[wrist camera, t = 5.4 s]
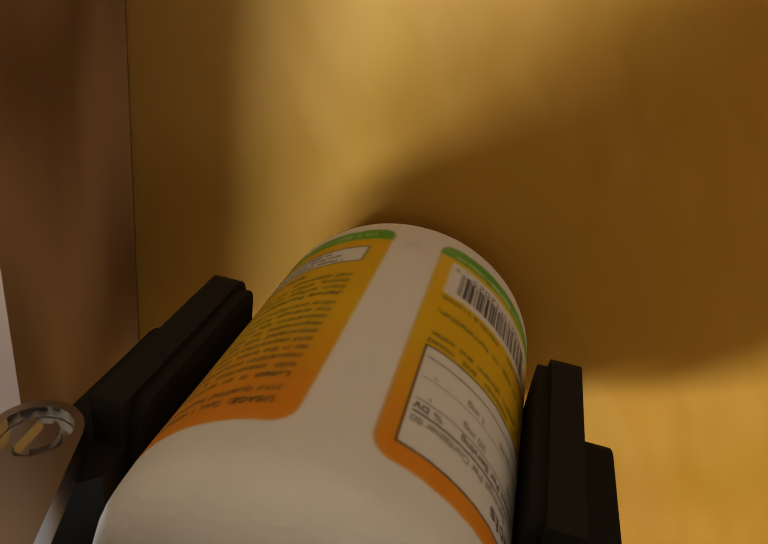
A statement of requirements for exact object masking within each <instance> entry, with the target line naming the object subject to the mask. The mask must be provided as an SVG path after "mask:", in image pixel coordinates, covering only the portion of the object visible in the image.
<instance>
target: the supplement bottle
mask: <svg viewBox="0 0 768 544" xmlns="http://www.w3.org/2000/svg"><path fill="white" fill-rule="evenodd" d="M526 371H527V341H526V332H525V327H524V323H523V319H522V316H521V313H520V310H519V307H518V305H517V302H516V300H515V298H514V296H513V294H512V292H511V291H510V289H509V288H508V286H507V284H506V283H505V282H504V280H503V279H502V278H501V276H500V275H499V274H498V273H497V272H496V270H495V269H494V268H493V267H492V266H491V265H490V264H489V263H488V262H487V261H486V260H484V259H483V258H482V257H481V256H480V255H479V254H477V253H476V252H475V251H473V250H472V249H471V248H469V247H468V246H466V245H464V244H463V243H461V242H459V241H458V240H456V239H453V238H451V237H449V236H447V235H445V234H442V233H440V232H437V231H434V230H430V229H427V228H423V227H419V226H414V225H407V224H394V223H383V224H372V225H366V226H361V227H357V228H353V229H349V230H346V231H344V232H341V233H339V234H336V235H334V236H332V237H330V238H328V239H327V240H325V241H323V242H321V243H320V244H319V245H317V246H316V247H315V248H313V249H312V250H311V251H310V252H309V253H308V254H307V255H305V256H304V257H303V259H302V260H301V261H300V262H299V263H298V264H297V265H296V266H295V267H294V268H293V269H292V270H291V271H290V273H289V274H288V275H287V277H286V278H285V279H284V281H283V282H282V283H281V284H280V285H279V286H278V288H277V289H276V290H275V292H274V293H273V294H272V295H271V297H270V298H269V299H268V300H267V302H266V303H265V304H264V305H263V307H262V308H261V309H260V310H259V311H258V313H257V314H256V315H255V316H254V318H253V319H252V320H251V321H250V323H249V324H248V325H247V326H246V328H245V329H244V330H243V331H242V332H241V334H240V335H239V336H238V337H237V338H236V340H235V341H234V342H233V343H232V344H231V346H230V347H229V348H228V349H227V351H226V352H225V353H224V354H223V356H222V357H221V358H220V359H219V360H218V362H217V363H216V364H215V365H214V367H213V368H212V369H211V370H210V372H209V373H208V374H207V375H206V376H205V378H204V379H203V380H202V381H201V383H200V384H199V385H198V386H197V387H196V389H195V390H194V391H193V392H192V394H191V395H190V396H189V397H188V398H187V400H186V401H185V402H184V403H183V404H182V406H181V407H180V408H179V409H178V410H177V412H176V413H175V414H174V415H173V417H172V418H171V419H170V420H169V421H168V423H167V424H166V425H165V426H164V427H163V428H162V430H161V431H160V432H159V433H158V434H157V436H156V437H155V438H154V439H153V441H152V442H151V443H150V444H149V446H148V447H147V448H146V449H145V451H144V452H143V453H142V454H141V456H140V457H139V458H138V459H137V461H136V462H135V463H134V465H133V466H132V468H131V469H130V470H129V472H128V473H127V474H126V476H125V477H124V478H123V480H122V481H121V482H120V484H119V485H118V487H117V488H116V490H115V491H114V493H113V494H112V496H111V497H110V499H109V501H108V502H107V504H106V506H105V508H104V511H103V513H102V515H101V517H100V519H99V522H98V526H97V529H96V533H95V536H94V540H93V544H512V534H513V522H514V511H515V499H516V488H517V476H518V464H519V452H520V442H521V430H522V418H523V405H524V393H525V382H526Z"/></svg>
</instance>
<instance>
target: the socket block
mask: <svg viewBox="0 0 768 544" xmlns="http://www.w3.org/2000/svg"><path fill="white" fill-rule="evenodd" d="M138 342H139V334H138V309H137V285H136V261H135V237H134V212H133V188H132V164H131V139H130V115H129V91H128V67H127V42H126V18H125V0H0V414H1V413H3V412H4V411H6V410H8V409H10V408H13V407H15V406H17V405H20V404H23V403H28V402H32V401H37V400H55V401H62V402H66V403H68V404H70V405H73V404H74V403H75V402H76V401H77V400H78V399H79V398H80V397H81V396H82V395H83V394H85V393H86V392H87V391H88V390H89V389H90V388H91V387H92V386H93V385H94V384H95V383H96V382H97V381H98V380H99V379H100V378H101V377H102V376H104V375H105V374H106V373H107V372H108V371H109V370H110V369H111V368H112V367H113V366H114V365H115V364H116V363H117V362H118V361H119V360H120V359H121V358H123V357H124V356H125V355H126V354H127V353H128V352H129V351H130V350H131V349H132V348H133V347H134V346H135V345H136V344H137V343H138Z"/></svg>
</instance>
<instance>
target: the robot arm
mask: <svg viewBox="0 0 768 544" xmlns="http://www.w3.org/2000/svg"><path fill="white" fill-rule="evenodd" d="M252 309H253V294H252V292H251V291H248V290H246V286H245V283H244V282H242V281H238V280H234V279H230V278H226V277H222V276H218V275H215V276H214V277H212V278H211V279H210V280H209V281H208V282H207V283H206V284H205V285H204V286H203V287H202V288H201V289H200V290H199V291H198V292H197V293H196V294H195V295H194V296H192V297H191V298H190V299H189V300H188V301H187V302H186V303H185V304H184V305H183V306H182V307H181V308H180V309H179V310H178V311H177V312H176V313H175V314H174V315H173V316H172V317H171V318H170V319H169V320H167V321H166V322H165V323H164V324H163V325H162V326H161V327H160V328H155V329H153V330H152V331H150V332H149V333H148V334H147V335H146V336H145V337H144V338H143V339H142V340H141V341H139V342H138V343H137V344H136V345H135V346H134V347H133V348H132V349H131V350H130V351H129V352H128V353H127V354H126V355H125V356H124V357H123V358H121V359H120V360H119V361H118V362H117V363H116V364H115V365H114V366H113V367H112V368H111V369H110V370H109V371H108V372H107V373H106V374H105V375H104V376H102V377H101V378H100V379H99V380H98V381H97V382H96V383H95V384H94V385H93V386H92V387H91V388H90V389H89V390H88V391H87V392H86V393H85V394H83V395H82V396H81V397H80V398H79V399H78V400H77V401H76V402H75V403H74V404H73V405H70V404H68V403H66V402H62V401H55V400H37V401H32V402H28V403H23V404H20V405H17V406H15V407H13V408H10V409H8V410H6V411H4V412H3V413H1V414H0V544H93V540H94V536H95V533H96V529H97V526H98V522H99V519H100V517H101V515H102V513H103V511H104V508H105V506H106V504H107V502H108V501H109V499H110V497H111V496H112V494H113V493H114V491H115V490H116V488H117V487H118V485H119V484H120V482H121V481H122V480H123V478H124V477H125V476H126V474H127V473H128V472H129V470H130V469H131V468H132V466H133V465H134V463H135V462H136V461H137V459H138V458H139V457H140V456H141V454H142V453H143V452H144V451H145V449H146V448H147V447H148V446H149V444H150V443H151V442H152V441H153V439H154V438H155V437H156V436H157V434H158V433H159V432H160V431H161V430H162V428H163V427H164V426H165V425H166V424H167V423H168V421H169V420H170V419H171V418H172V417H173V415H174V414H175V413H176V412H177V410H178V409H179V408H180V407H181V406H182V404H183V403H184V402H185V401H186V400H187V398H188V397H189V396H190V395H191V394H192V392H193V391H194V390H195V389H196V387H197V386H198V385H199V384H200V383H201V381H202V380H203V379H204V378H205V376H206V375H207V374H208V373H209V372H210V370H211V369H212V368H213V367H214V365H215V364H216V363H217V362H218V360H219V359H220V358H221V357H222V356H223V354H224V353H225V352H226V351H227V349H228V348H229V347H230V346H231V344H232V343H233V342H234V341H235V340H236V338H237V337H238V336H239V335H240V334H241V332H242V331H243V330H244V329H245V328H246V326H247V325H248V324H249V323H250V321H251V320H252ZM512 544H622V543H621V532H620V522H619V511H618V501H617V490H616V480H615V469H614V459H613V453H612V450H611V449H610V448H607V447H604V446H600V445H596V444H592V443H589V442H585V433H584V409H583V385H582V368H581V367H579V366H575V365H571V364H568V363H564V362H560V361H556V360H552V359H551V360H550V362H549V364H548V366H544V365H540V364H538V365H537V367H536V370H535V373H534V376H533V379H532V382H531V386H530V389H529V392H528V395H527V399H526V402H525V405H524V408H523V418H522V430H521V442H520V452H519V464H518V476H517V488H516V499H515V511H514V522H513V534H512Z"/></svg>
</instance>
